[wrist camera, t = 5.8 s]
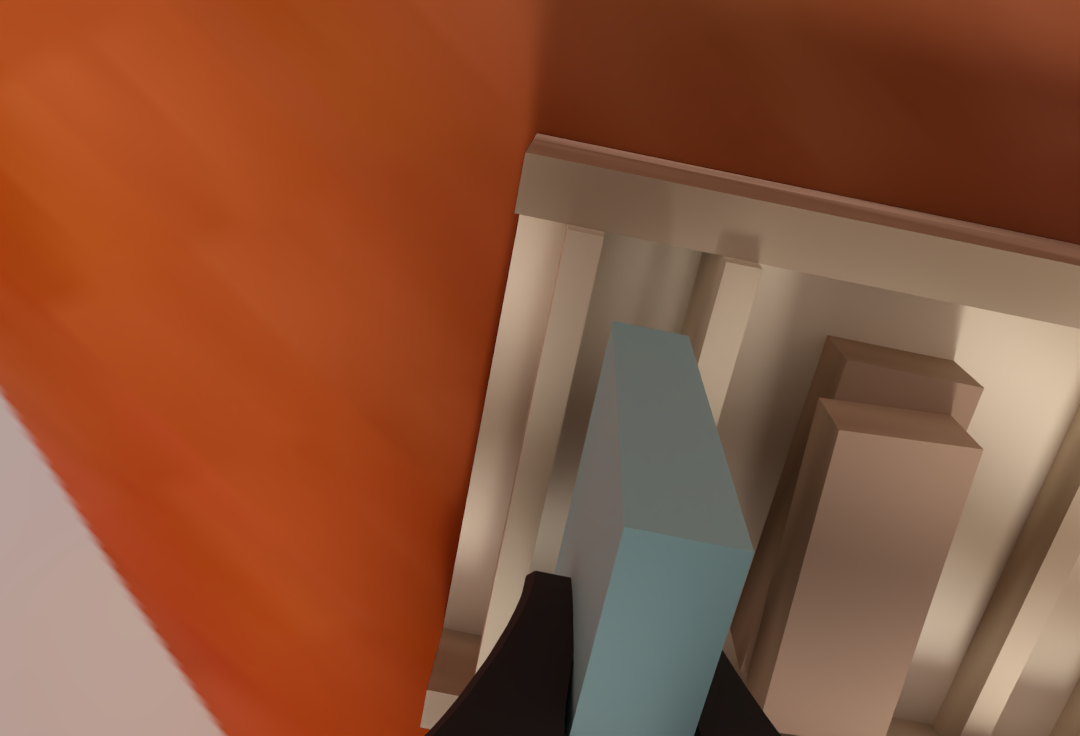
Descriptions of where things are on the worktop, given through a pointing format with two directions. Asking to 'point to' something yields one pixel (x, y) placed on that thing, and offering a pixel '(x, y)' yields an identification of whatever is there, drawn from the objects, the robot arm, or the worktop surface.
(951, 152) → the worktop surface
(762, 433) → the rack
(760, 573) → the offcut lower
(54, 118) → the worktop surface
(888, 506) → the offcut upper
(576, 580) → the teal rectangular plate
